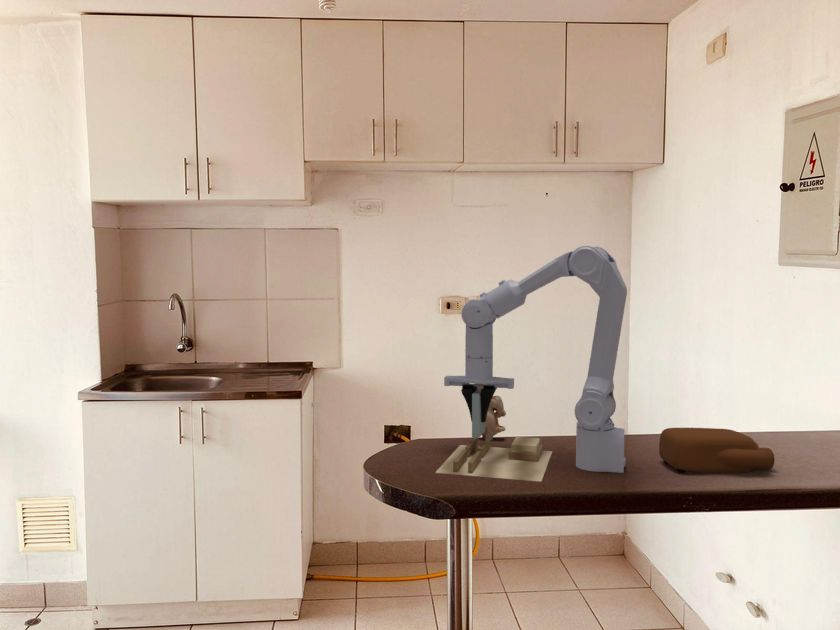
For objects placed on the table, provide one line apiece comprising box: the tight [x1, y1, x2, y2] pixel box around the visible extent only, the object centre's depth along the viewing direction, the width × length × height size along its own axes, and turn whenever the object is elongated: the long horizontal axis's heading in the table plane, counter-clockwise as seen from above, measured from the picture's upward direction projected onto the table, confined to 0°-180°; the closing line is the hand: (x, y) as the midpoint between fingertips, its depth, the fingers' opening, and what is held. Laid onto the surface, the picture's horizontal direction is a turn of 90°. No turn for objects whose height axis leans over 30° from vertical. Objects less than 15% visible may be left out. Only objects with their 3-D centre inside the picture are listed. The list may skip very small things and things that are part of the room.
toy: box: [658, 427, 776, 474], centre depth 143 cm, size 15×8×20 cm
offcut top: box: [510, 436, 541, 454], centre depth 148 cm, size 5×7×2 cm
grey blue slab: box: [471, 389, 485, 439], centre depth 150 cm, size 2×7×9 cm, turn 164°
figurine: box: [477, 387, 507, 441], centre depth 163 cm, size 6×8×15 cm
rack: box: [435, 437, 553, 487], centre depth 144 cm, size 20×22×3 cm
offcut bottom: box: [508, 444, 543, 462], centre depth 148 cm, size 6×8×2 cm
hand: (478, 421), depth 150 cm, fingers closed on grey blue slab, 1 cm apart
